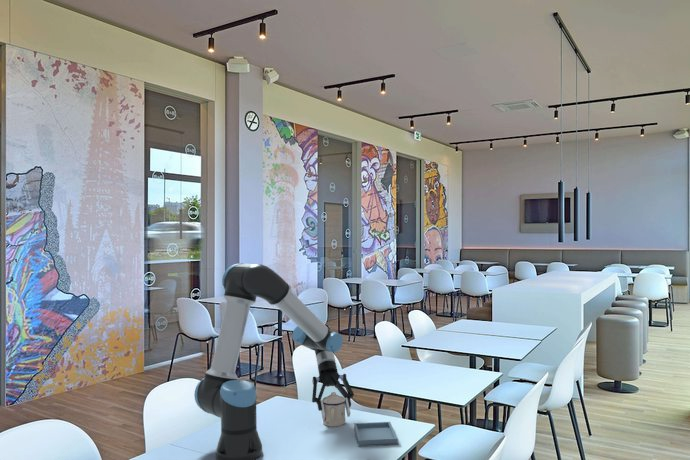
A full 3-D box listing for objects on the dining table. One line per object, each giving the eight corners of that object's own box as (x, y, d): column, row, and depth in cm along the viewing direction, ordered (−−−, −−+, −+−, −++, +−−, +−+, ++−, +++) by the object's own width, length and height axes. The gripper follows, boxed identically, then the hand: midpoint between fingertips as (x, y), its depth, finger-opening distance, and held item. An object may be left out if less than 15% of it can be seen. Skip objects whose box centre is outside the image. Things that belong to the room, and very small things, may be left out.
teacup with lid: (323, 418, 205) (323, 389, 205) (346, 418, 205) (345, 389, 205) (320, 430, 193) (319, 398, 193) (344, 430, 193) (344, 398, 193)
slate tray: (358, 446, 177) (358, 440, 177) (354, 428, 194) (354, 423, 194) (397, 444, 178) (397, 438, 178) (390, 426, 195) (390, 421, 195)
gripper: (350, 367, 217) (362, 417, 201) (299, 371, 211) (307, 424, 196) (353, 357, 212) (365, 408, 196) (301, 361, 206) (309, 414, 191)
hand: (336, 416), depth 196 cm, fingers closed on teacup with lid, 9 cm apart
